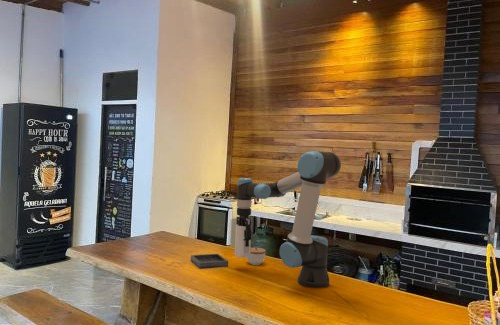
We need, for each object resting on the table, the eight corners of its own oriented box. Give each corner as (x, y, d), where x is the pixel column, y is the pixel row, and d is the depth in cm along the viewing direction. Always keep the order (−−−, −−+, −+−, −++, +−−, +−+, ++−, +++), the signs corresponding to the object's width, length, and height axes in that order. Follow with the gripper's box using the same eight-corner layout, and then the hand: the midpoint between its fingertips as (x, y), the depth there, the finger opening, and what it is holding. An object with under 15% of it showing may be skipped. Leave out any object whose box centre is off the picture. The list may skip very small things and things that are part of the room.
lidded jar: (257, 267, 230) (258, 250, 229) (241, 263, 236) (242, 246, 236) (268, 263, 238) (269, 247, 238) (253, 259, 245) (254, 243, 244)
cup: (250, 257, 220) (251, 226, 220) (234, 257, 220) (235, 226, 220) (250, 254, 228) (251, 224, 228) (235, 253, 228) (236, 223, 228)
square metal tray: (228, 266, 228) (228, 261, 228) (199, 268, 222) (199, 263, 222) (217, 258, 243) (218, 253, 243) (190, 260, 236) (190, 255, 236)
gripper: (259, 210, 216) (257, 254, 216) (242, 204, 235) (241, 246, 235) (245, 210, 213) (243, 255, 213) (230, 205, 232) (228, 246, 232)
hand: (242, 250), depth 224 cm, fingers closed on cup, 8 cm apart
